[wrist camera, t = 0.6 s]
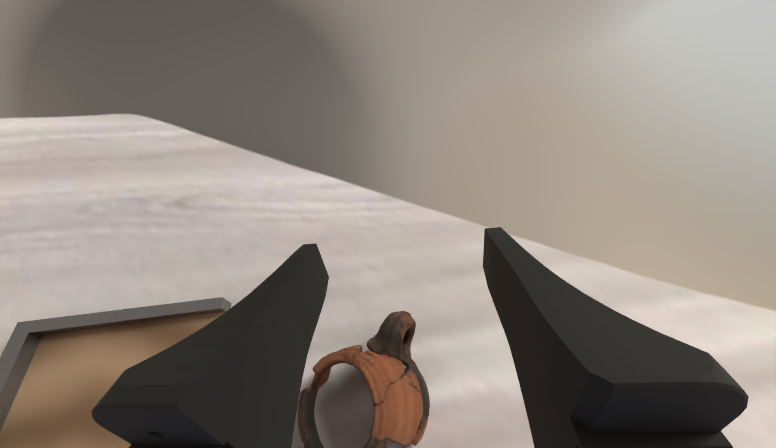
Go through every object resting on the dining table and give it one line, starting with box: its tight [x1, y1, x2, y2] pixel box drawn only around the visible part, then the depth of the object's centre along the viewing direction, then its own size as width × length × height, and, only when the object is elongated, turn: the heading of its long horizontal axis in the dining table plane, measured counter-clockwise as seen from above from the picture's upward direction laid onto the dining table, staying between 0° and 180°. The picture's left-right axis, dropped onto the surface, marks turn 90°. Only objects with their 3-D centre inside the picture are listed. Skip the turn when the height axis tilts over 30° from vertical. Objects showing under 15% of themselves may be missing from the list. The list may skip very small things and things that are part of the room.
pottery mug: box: [298, 311, 430, 448], centre depth 23 cm, size 12×10×8 cm
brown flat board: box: [0, 312, 225, 448], centre depth 22 cm, size 16×20×2 cm
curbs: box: [0, 297, 231, 431], centre depth 21 cm, size 18×16×2 cm
